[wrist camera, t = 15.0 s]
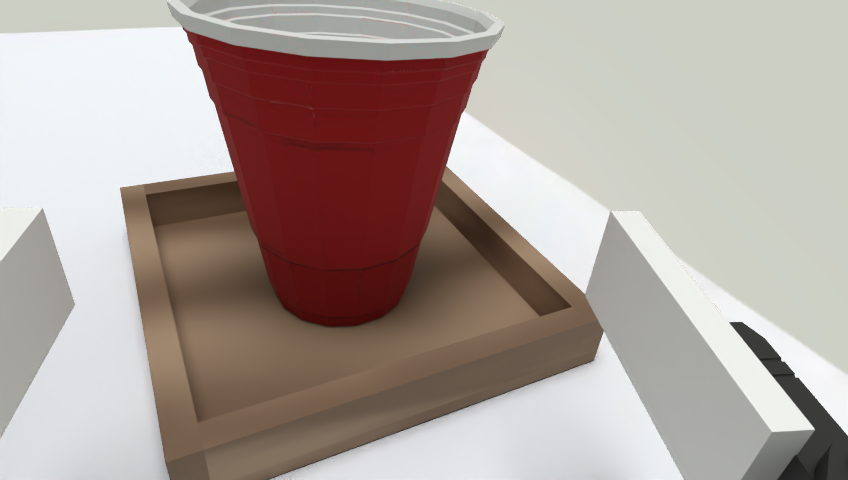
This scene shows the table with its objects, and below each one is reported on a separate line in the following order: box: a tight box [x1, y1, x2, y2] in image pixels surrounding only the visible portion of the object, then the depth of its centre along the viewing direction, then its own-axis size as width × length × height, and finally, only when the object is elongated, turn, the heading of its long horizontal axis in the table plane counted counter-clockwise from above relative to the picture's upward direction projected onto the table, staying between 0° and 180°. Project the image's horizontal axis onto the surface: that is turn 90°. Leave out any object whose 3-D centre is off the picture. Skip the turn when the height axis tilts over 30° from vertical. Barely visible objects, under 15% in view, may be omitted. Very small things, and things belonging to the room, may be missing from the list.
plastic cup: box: [167, 0, 505, 326], centre depth 23 cm, size 11×11×12 cm
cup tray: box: [120, 166, 604, 480], centre depth 26 cm, size 16×16×2 cm
